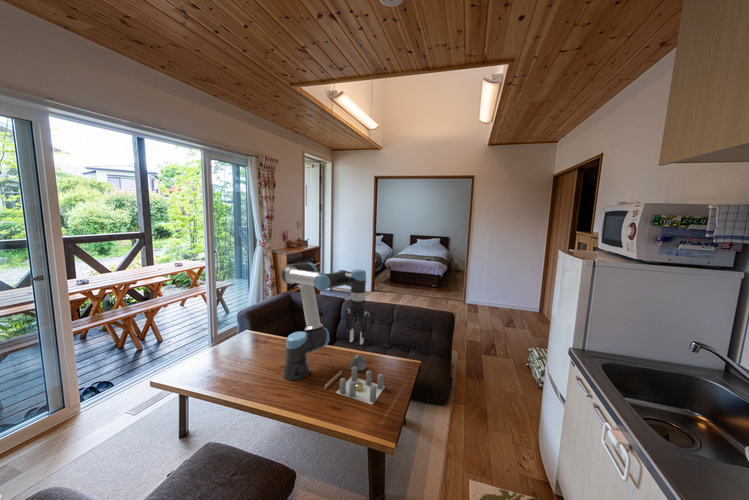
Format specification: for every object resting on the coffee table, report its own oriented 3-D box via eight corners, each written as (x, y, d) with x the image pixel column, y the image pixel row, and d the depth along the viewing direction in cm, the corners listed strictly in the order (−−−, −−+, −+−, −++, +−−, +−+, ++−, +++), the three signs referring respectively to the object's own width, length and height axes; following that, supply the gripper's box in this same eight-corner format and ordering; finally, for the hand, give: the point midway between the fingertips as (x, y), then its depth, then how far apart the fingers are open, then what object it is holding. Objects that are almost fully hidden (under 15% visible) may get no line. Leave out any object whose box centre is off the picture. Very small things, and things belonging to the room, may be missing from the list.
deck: (324, 391, 151) (324, 376, 150) (340, 375, 167) (340, 362, 166) (373, 407, 140) (373, 391, 139) (386, 388, 155) (386, 374, 154)
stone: (358, 357, 168) (362, 349, 178) (345, 366, 170) (349, 357, 180) (368, 370, 168) (371, 361, 178) (355, 379, 170) (359, 370, 180)
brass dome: (352, 389, 151) (352, 385, 151) (356, 385, 155) (356, 381, 155) (360, 392, 150) (360, 388, 149) (363, 387, 154) (364, 383, 153)
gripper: (338, 298, 148) (337, 341, 151) (370, 304, 141) (369, 349, 143) (346, 295, 155) (344, 336, 158) (377, 300, 148) (375, 343, 150)
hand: (356, 342), depth 150 cm, fingers open, 5 cm apart
